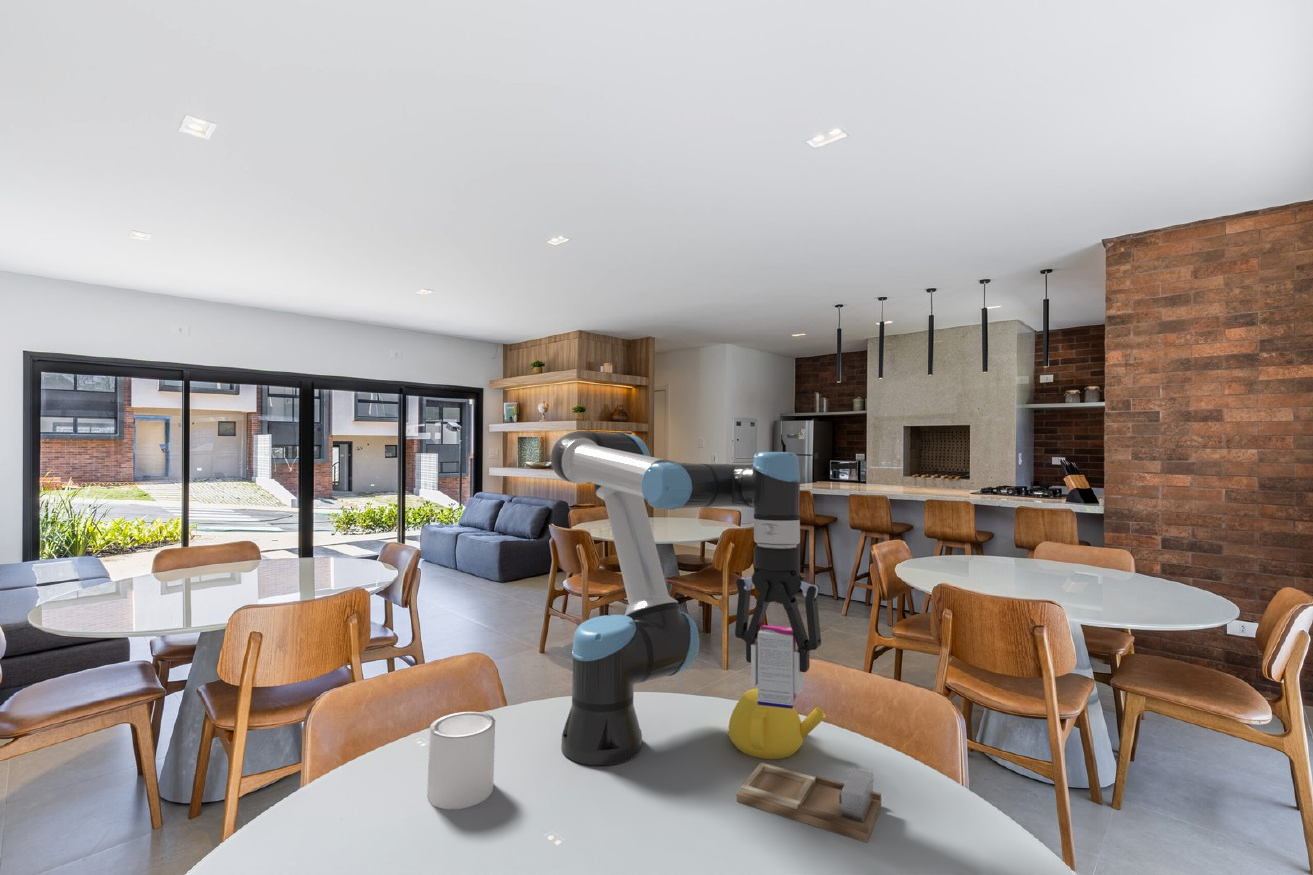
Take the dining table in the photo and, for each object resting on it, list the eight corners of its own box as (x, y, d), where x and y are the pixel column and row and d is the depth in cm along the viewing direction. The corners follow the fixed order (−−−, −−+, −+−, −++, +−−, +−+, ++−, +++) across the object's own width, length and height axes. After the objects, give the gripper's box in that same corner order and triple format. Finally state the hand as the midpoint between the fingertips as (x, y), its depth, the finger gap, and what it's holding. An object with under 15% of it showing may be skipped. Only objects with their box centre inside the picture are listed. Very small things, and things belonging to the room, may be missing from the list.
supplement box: (794, 709, 95) (792, 635, 96) (756, 705, 97) (755, 632, 98) (797, 696, 101) (796, 626, 101) (761, 693, 103) (760, 624, 103)
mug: (427, 771, 104) (429, 708, 105) (488, 762, 108) (490, 701, 108) (426, 814, 91) (429, 742, 92) (496, 802, 95) (498, 733, 95)
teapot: (820, 781, 103) (821, 715, 104) (716, 761, 110) (717, 699, 110) (829, 733, 122) (829, 677, 123) (740, 718, 128) (740, 665, 129)
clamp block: (837, 816, 90) (837, 789, 90) (849, 792, 97) (849, 766, 97) (862, 824, 88) (862, 796, 88) (872, 798, 95) (872, 772, 95)
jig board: (736, 801, 96) (736, 788, 97) (761, 772, 106) (761, 760, 106) (867, 842, 86) (867, 828, 87) (881, 805, 96) (881, 792, 96)
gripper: (713, 543, 102) (713, 682, 101) (829, 551, 92) (831, 706, 91) (731, 539, 109) (731, 670, 107) (842, 546, 99) (843, 691, 97)
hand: (777, 686), depth 99 cm, fingers closed on supplement box, 7 cm apart
